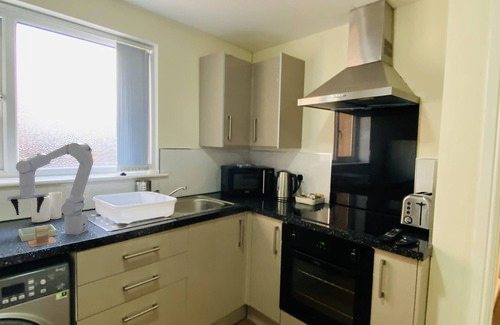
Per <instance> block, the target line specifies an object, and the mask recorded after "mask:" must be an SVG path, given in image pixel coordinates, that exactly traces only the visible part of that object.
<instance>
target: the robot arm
mask: <svg viewBox="0 0 500 325" xmlns="http://www.w3.org/2000/svg"><path fill="white" fill-rule="evenodd" d="M92 150H93V148H91V146H90V145H89V144H88V143H87V142H70V143H68V144H64V145H63V146H61V147H59V148H57V149H55V150H52V151H51V152H49V153H43V152H42V153H41V152H38V153H36V155H35V156H33V157H28V158H26V160H19V161H18V162H17V163H16V165H15V169H16V171H17V172H18V177H19V194H14V195H7V202H8V201H9V202H11V204H12V205H13V207H14V210H15V213H16V214H15V215H16V216H19V215H20V212H19V200H26V199H27V200H29V199H31V198H37V213H39V211H40V207H41V205H42V203H43V201H44V197H47V196H48V195H47V194H48V193H47V192H40V193H39V192H38V193H36V180H35V178H36V177H35V176H36V171H37V170H38V169H40V168H42V167H45V166H47V165H49V164H51V161H52V160H55V159H57V158H60V157H62V156H65V155H70V156H71V157H73V159H75V160H76V161H77V162H78V163H79V166H78V168H77V172H76V175H75V178H74V181H73V184H72V187H71V190H70V192H69V195H68V197H67V198H66V199H65V201H64V203H62V207H61V211H62V212H61V214H63V216H64V219H63V220H64V231H61V232H60V233H59V234H61V235H80V234H83V233H84V232H87V231H89V230H90V229H89V219H88V216H87V215H86V214H83V211H82V210H83V209H84V208H85V201H84V200H85V197H84V194H85V193H84V192H85V189H86V187H87V183H88V181H89V178H90V174H91V171H92V168H93V165H94V159H93V154H92Z"/></svg>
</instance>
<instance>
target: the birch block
mask: <svg viewBox="0 0 500 325" xmlns="http://www.w3.org/2000/svg"><path fill="white" fill-rule="evenodd" d="M42 226H43V225H42ZM34 240H36V243H37V244H38V243H43V242H48V241H49V237H48V227H47V226H43V227H37V228H35V239H34Z"/></svg>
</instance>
